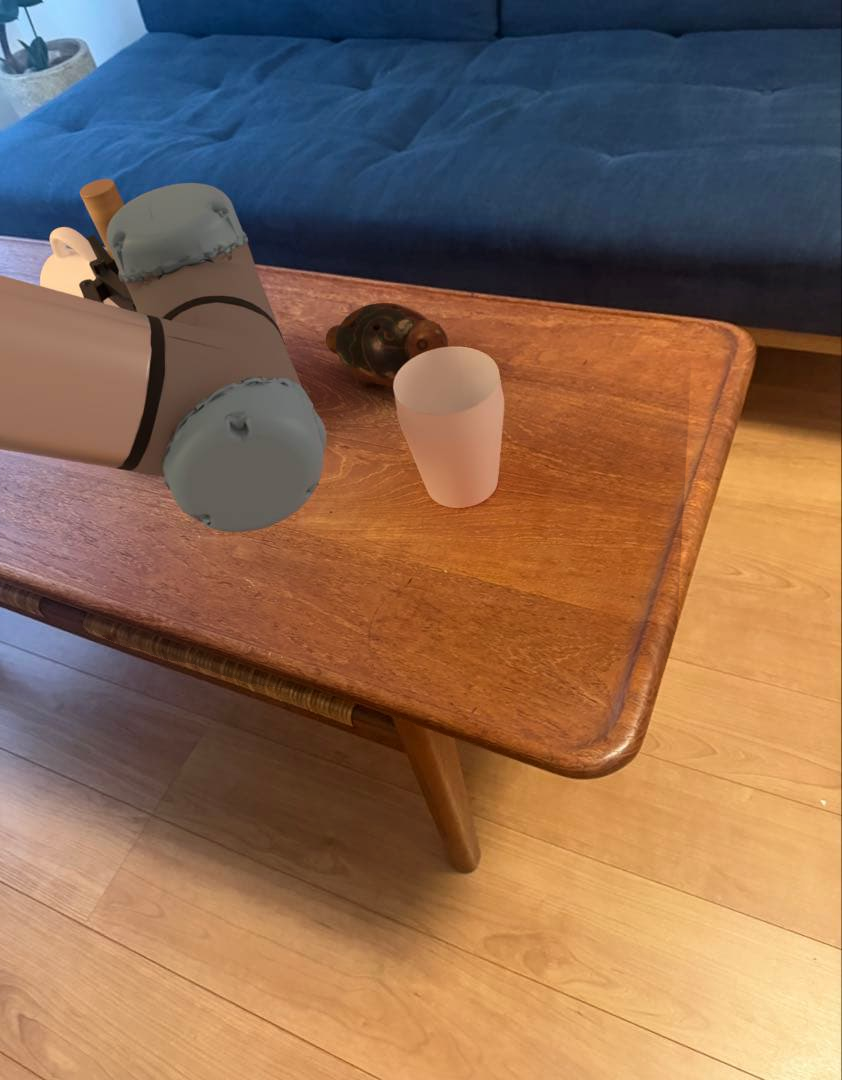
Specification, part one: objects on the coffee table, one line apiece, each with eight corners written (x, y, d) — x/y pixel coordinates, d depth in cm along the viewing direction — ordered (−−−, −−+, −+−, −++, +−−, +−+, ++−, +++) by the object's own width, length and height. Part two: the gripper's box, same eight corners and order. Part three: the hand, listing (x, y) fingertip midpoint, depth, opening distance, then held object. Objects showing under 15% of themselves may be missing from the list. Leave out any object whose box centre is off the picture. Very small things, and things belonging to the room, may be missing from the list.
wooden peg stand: (141, 379, 80) (54, 213, 67) (144, 341, 84) (64, 179, 71) (204, 364, 80) (130, 196, 67) (205, 327, 84) (136, 162, 71)
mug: (115, 346, 99) (68, 256, 90) (60, 329, 103) (10, 242, 94) (161, 308, 103) (121, 219, 94) (106, 293, 107) (63, 206, 98)
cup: (403, 515, 74) (378, 413, 65) (426, 446, 79) (406, 343, 70) (501, 523, 71) (490, 419, 62) (518, 451, 77) (510, 346, 68)
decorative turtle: (439, 417, 82) (420, 354, 76) (316, 396, 88) (290, 336, 82) (478, 355, 86) (464, 290, 80) (359, 340, 93) (337, 279, 87)
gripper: (125, 436, 64) (54, 309, 79) (304, 349, 68) (205, 244, 83) (81, 358, 59) (13, 238, 73) (279, 268, 63) (177, 171, 77)
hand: (115, 241), depth 78 cm, fingers closed on wooden peg stand, 3 cm apart
